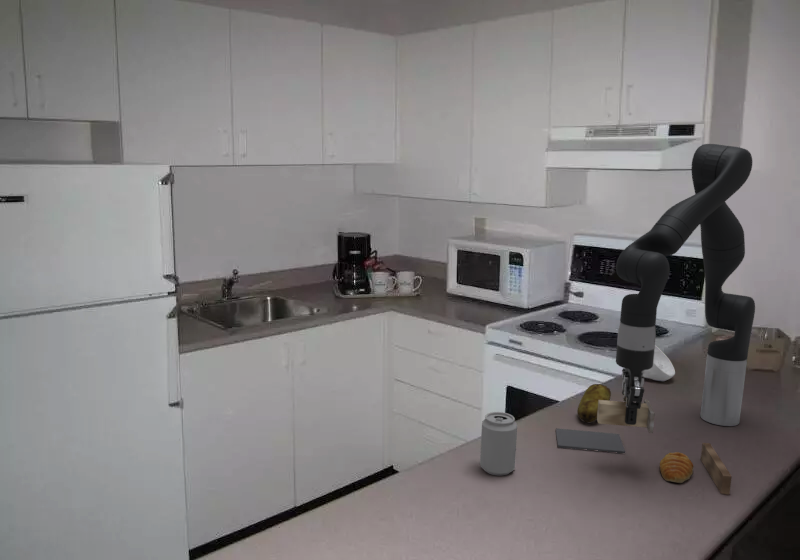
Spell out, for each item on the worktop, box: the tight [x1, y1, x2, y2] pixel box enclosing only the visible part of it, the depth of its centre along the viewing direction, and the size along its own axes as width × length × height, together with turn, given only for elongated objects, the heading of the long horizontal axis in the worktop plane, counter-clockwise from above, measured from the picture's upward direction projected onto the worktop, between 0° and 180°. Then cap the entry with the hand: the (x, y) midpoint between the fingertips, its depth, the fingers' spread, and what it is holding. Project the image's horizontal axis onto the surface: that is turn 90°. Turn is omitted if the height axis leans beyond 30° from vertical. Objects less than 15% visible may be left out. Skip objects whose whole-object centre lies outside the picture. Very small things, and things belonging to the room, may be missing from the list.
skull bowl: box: [641, 344, 676, 382], centre depth 207 cm, size 10×14×12 cm
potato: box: [577, 383, 612, 424], centre depth 174 cm, size 8×13×8 cm, turn 130°
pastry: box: [659, 451, 694, 484], centre depth 143 cm, size 9×7×4 cm
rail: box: [700, 442, 733, 496], centre depth 143 cm, size 16×2×4 cm, turn 170°
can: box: [479, 411, 518, 476], centre depth 143 cm, size 8×8×12 cm
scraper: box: [596, 398, 656, 434], centre depth 145 cm, size 11×8×4 cm
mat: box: [555, 427, 626, 454], centre depth 159 cm, size 10×15×1 cm, turn 80°
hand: (629, 420), depth 145 cm, fingers closed on scraper, 2 cm apart
